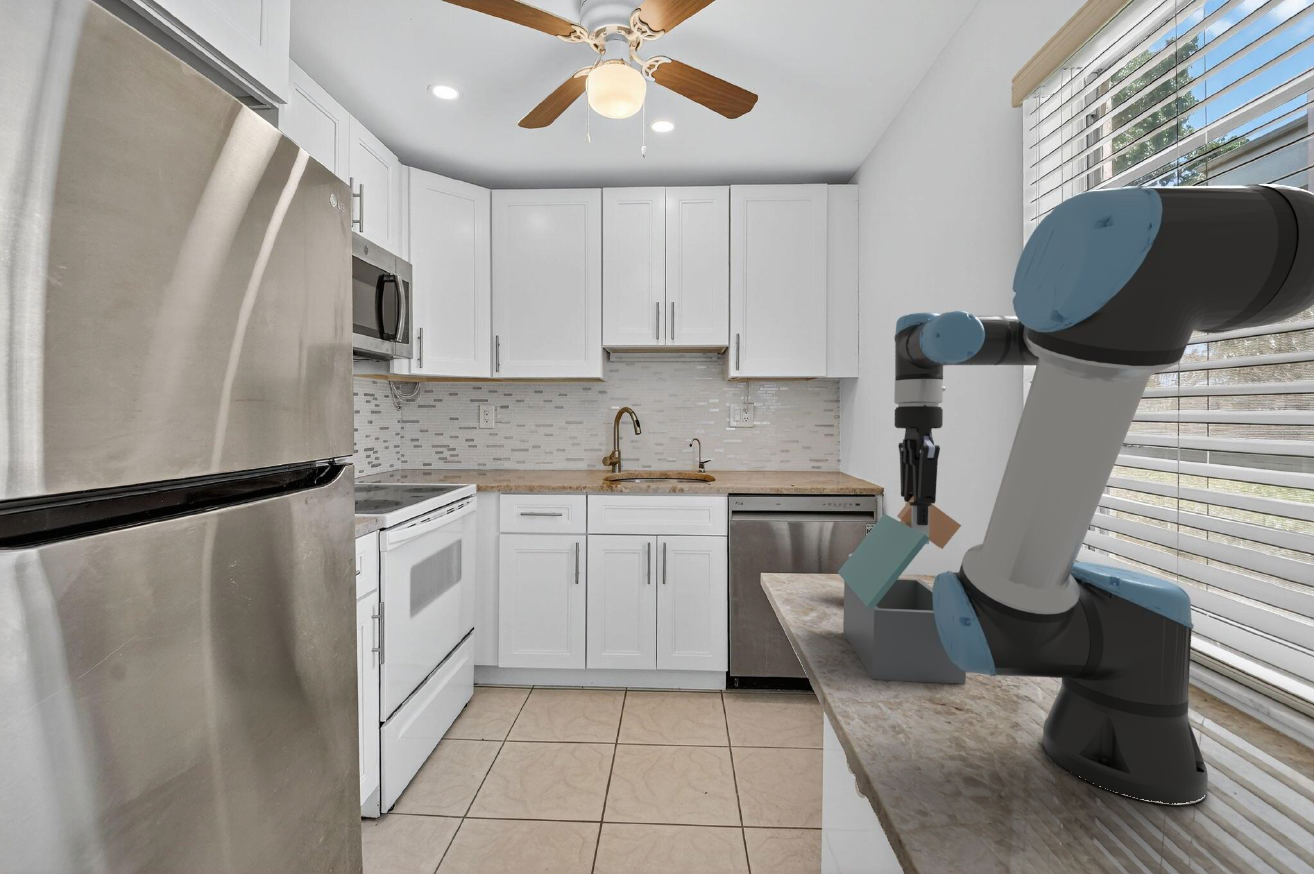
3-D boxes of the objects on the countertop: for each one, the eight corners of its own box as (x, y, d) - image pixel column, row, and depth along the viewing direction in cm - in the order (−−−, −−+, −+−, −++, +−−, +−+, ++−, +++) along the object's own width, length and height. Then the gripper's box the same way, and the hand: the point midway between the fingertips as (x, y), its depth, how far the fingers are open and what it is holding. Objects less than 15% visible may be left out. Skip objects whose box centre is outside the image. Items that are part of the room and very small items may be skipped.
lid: (987, 536, 88) (941, 502, 88) (906, 636, 89) (861, 602, 90) (934, 514, 108) (897, 487, 109) (869, 596, 110) (833, 569, 110)
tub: (965, 684, 89) (967, 614, 88) (872, 679, 90) (874, 610, 90) (918, 636, 109) (919, 579, 108) (843, 632, 110) (844, 576, 110)
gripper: (960, 403, 90) (958, 552, 90) (924, 407, 105) (923, 533, 106) (910, 404, 91) (909, 551, 91) (882, 407, 106) (881, 532, 107)
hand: (916, 541), depth 98 cm, fingers closed on lid, 2 cm apart
